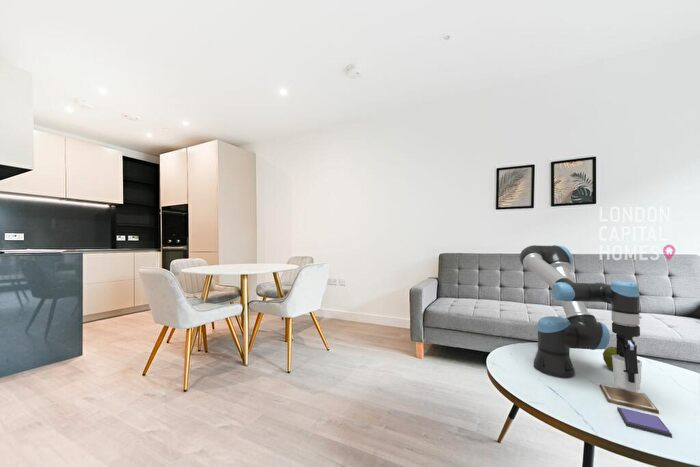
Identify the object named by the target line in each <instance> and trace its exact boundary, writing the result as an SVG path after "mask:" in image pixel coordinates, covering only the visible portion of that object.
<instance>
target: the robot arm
mask: <svg viewBox="0 0 700 467" xmlns="http://www.w3.org/2000/svg"><path fill="white" fill-rule="evenodd" d="M572 257H573V256H572V253H571V251H570V249H568V248H567V247H566V246H563V245H556V244H555V245H538V244H537V245H533V244H532V245H528V246H527V247H525V248H523V249H522V250H521V252H520V254H519V262H520V264H521V265H522V266H523V267H524V268H525V269H527V270H528V271H532V272H533V273H534V274H535V275H536V276H537V277H538V278H540V279H541V280H542V281H543V282H544V283H545V284H547V285H548V287H550V288H551V294H552V296H553V297H554V298H555V300H557V301H559V302H560V304H561V306H562V309H563V311H564V313H565V317H562V316H551V315H550V316H543V317H541V318H539V319H538V320H537V328H536V330H537V351H536V354H535V357H534V358H533V368H534V369H535V370H537V371H538V372H540V373H542V374H545V375H547V376H550V377H555V378H560V379H571V378H574V377H575V376H576V370H575V369H576V368H575V367H574V365H573V362H572V359H571V356H570V349H580V350H592V351H595V350H605V349H607V348H608V345H609V344H610V340H611V339H610V338H611V336H610V335H611V334H610V330H609V329H608V327H607V325H606V324H605V323H603V322H602V321H597V319H596V316H595V315H593V314H591V313H590V312H589V311H588V309H587V306H586V305H585V302H588V303H589V302H591V303H596V302H597V303H606V304H609V305H611V310H610V311H611V321H612V322H611V331H612V333H614V334H615V336H616V355H619V356H621V357H624V359H625V367H626V370H623V371H624V372H625V388H624V389H626V390H628V391H633V392H636V374H638V364H637V359H638V354H637V352H638V346H637V344H636V343H635V342H636V341H634V338H638V337H640V336H641V327H640V326H639V325H641V323H640V320H641V319H642V318H643V317H642V316H641V315H640V296H641V295H640V289H639V288H640V287H639V285H638V283H636V282H630V281H622V280H621V281H619V280H616V281H615V280H613V281H611V283H610V284H608V283H605V282H597V281H596V282H595V281H594V282H589V283H588V282H575V281H574V278H573V277H572V275H571V273H570V270H569V269H570V268H571V265H572V263H573V259H572ZM632 369H633V370H632Z"/></svg>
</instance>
